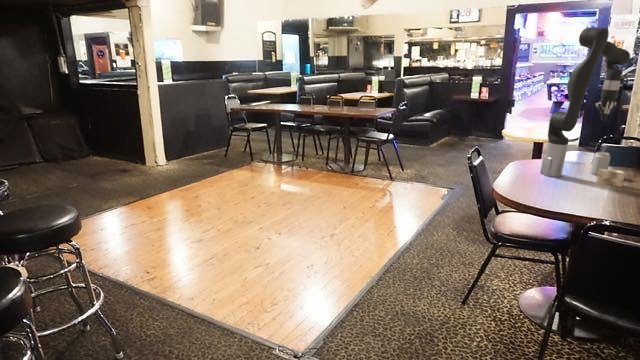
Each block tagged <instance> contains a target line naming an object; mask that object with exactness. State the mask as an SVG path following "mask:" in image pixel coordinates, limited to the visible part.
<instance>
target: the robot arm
mask: <svg viewBox="0 0 640 360" xmlns="http://www.w3.org/2000/svg"><path fill="white" fill-rule="evenodd" d="M609 34H610V33H609V29H608V28H606V27H586V28H584V29H583V30H581V32H580V34H579V37H578V42H579V44H580V46H581V47H584V48H587V49H589V50H590V51H589V54H588V55H587V56H586V57H585V58H584V60H583V61H581V62H580V63H579V64H578V65H577V66H576V67H575V68H573V70H572V71H571V73H570V75H569V78H568V81H567V85H566V89H567V91H566V92H567V95H568V99H569V101H568V107H567V110H566V112H565V111H556V112H554V113H552V115H551V117H550V118H549V123H548V130H547V131H548V132H547V139H548V140H547V146H546V149H545V150H546V151H545V155H543V156H542V157H543V158H542V161H541V166H540V167H541V168H540V172H539V173H540V174H542V175H544V176H546V177H552V178H553V177H554V178H561V177H562V174H563V170H564V165H565V162H566V161H565V159H566V155H567V151H568V146H569V145H568V144H569V138H568V137H567V136H565V134H564V132H568V133H569V132H571V131H573V130H574V128H575V127H576V125H577V122H578V119H579V115H580V111H581V109H582V104H583V101H584V98H585V95H586V93H587V90H588V88H589V86H590V83H591V79H592V78H593V75H594V71H595V69H596V66H597V64H598V61H599V59H600V57H601V56H602V57H603V58H605V64H606V65H605V66H606V67H605V68H606V73H605V74H606V75H605V77H604V82H603V85H602V89H601V94H600V97H601V98H600V100H599V101H598V102H595V104H594V105H595V107H596V109H597V111H598V113H600V120H601V121H604V122H605V121H606V120H607V119H608V116H609V114H612V113H614V111H615V110H616V109H617V108H618V107H619V103H617V100H616V99H617V98H618V95H619V91H620V90H619V89H620V85H621V81H622V80H621V78H622V76H623V70H622V69H619V68H616V67H615V66H616V65H621V66H622V65H623V66H624V65H626V64H627V63H628V62H630V60H631V53H630V51H628V50H627V49H624V48H621V47H618V46H617V45H616V44H614V43H613V42H611V41H608V38H609Z"/></svg>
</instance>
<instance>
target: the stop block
mask: <svg viewBox="0 0 640 360" xmlns="http://www.w3.org/2000/svg"><path fill="white" fill-rule="evenodd" d="M625 176H626V173H625V172H624V171H623V170H613V169H608V170H606V169H599V172H598V176H597V175H596V177H597V178H596V181H595V182H596V184H597V185H602V186H608V187H609V186H611V187H612V186H613V187H623V182H624V179H625Z"/></svg>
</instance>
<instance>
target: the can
mask: <svg viewBox="0 0 640 360" xmlns="http://www.w3.org/2000/svg"><path fill="white" fill-rule="evenodd" d="M610 161H611V156H610V153H609V152H604V151H603V152H602V151H597V152H595V154H593V157H592V162H591V167H590V170H589V172H590V173H591V175H594V176H596V177H597V176H598V172H599V169H606V170H609V166H610Z"/></svg>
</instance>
